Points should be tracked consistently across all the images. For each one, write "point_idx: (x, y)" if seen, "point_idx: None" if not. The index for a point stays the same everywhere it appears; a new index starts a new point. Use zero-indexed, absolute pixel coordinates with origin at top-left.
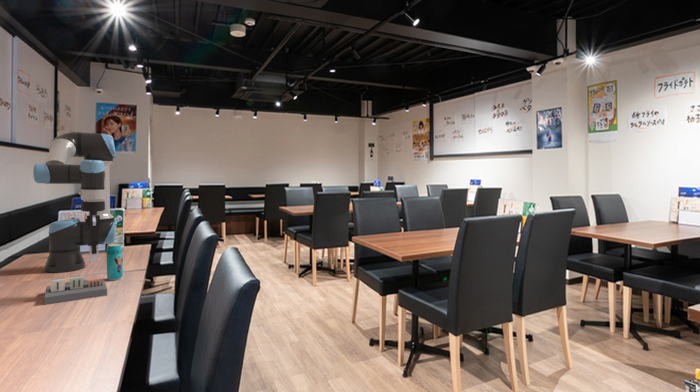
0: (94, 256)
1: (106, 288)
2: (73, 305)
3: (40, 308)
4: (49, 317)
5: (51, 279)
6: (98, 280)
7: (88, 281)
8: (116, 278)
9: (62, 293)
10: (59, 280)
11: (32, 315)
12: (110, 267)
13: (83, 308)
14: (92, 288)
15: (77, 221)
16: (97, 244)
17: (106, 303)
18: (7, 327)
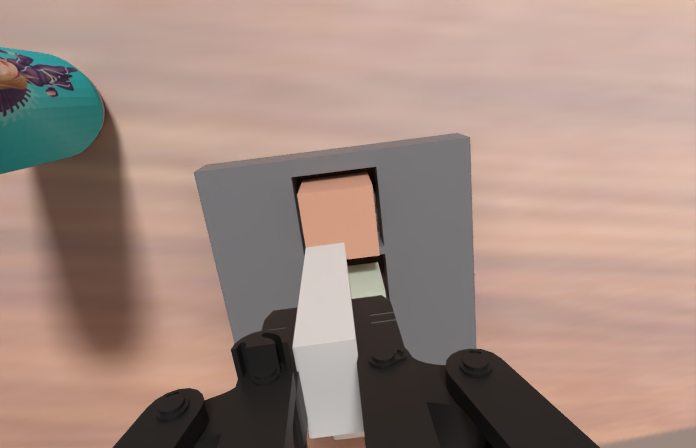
0: (351, 298)
1: (463, 141)
2: (550, 267)
3: None
4: (668, 327)
5: (354, 435)
6: (372, 197)
7: (378, 251)
8: (99, 95)
9: (446, 338)
10: None
11: (596, 383)
12: (51, 141)
13: (630, 222)
14: (419, 216)
15: None
16: (406, 353)
17: (616, 128)
18: (689, 423)
